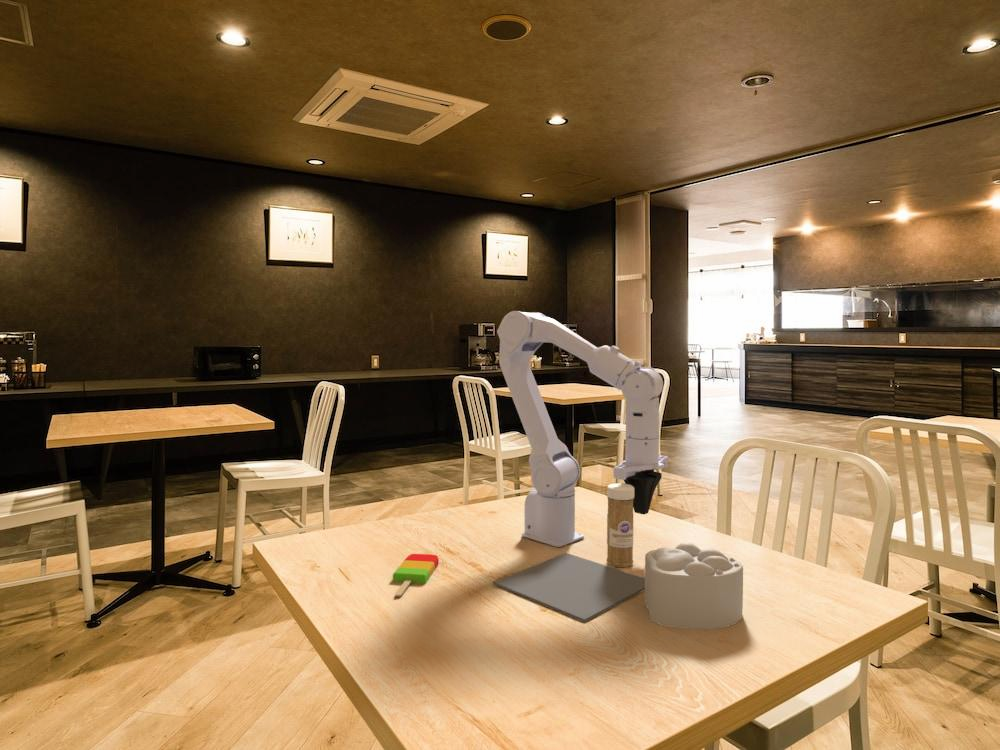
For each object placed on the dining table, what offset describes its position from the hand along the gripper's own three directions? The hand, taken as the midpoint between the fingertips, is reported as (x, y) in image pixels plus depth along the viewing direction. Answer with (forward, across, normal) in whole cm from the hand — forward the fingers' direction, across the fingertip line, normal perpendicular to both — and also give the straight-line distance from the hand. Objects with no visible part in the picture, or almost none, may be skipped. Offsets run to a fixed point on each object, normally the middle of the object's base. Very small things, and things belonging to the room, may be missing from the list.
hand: (641, 512), depth 109 cm
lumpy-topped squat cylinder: (+8, -14, -18) cm, 24 cm away
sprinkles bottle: (+8, -6, 0) cm, 10 cm away
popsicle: (+8, -35, +20) cm, 41 cm away
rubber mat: (+7, -19, 0) cm, 20 cm away
